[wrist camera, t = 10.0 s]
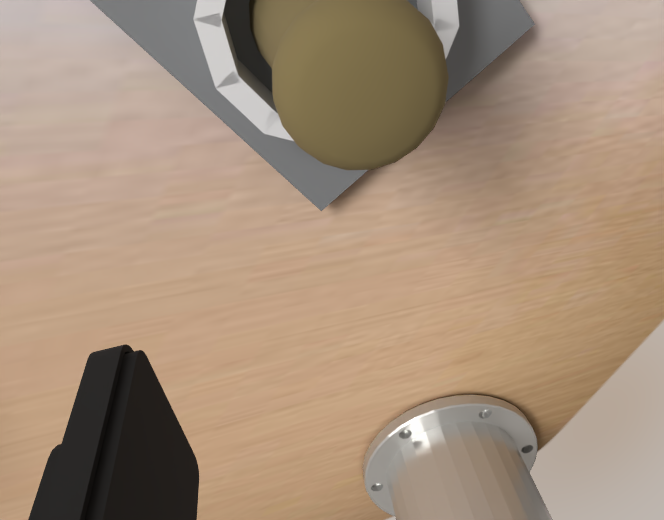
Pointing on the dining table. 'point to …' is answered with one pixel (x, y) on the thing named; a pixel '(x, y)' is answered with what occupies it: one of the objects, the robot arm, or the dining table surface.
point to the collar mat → (256, 75)
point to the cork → (352, 76)
